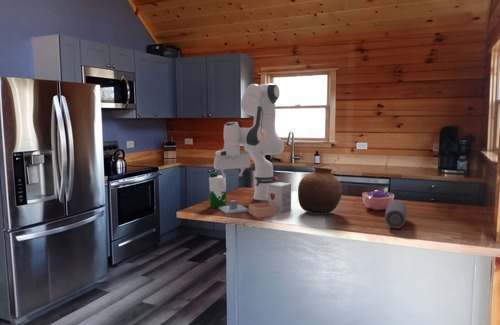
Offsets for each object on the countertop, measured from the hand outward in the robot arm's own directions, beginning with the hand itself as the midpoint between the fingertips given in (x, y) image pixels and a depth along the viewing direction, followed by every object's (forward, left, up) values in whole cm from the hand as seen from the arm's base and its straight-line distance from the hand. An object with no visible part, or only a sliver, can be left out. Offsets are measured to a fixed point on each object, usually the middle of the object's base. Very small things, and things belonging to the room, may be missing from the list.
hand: (232, 176), depth 210 cm
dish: (-11, +15, -19) cm, 27 cm away
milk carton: (+5, -12, -19) cm, 23 cm away
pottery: (-40, +25, -19) cm, 51 cm away
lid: (0, 0, -19) cm, 19 cm away
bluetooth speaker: (-61, +58, -19) cm, 86 cm away
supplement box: (-24, +10, -19) cm, 32 cm away
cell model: (-74, +30, -19) cm, 82 cm away
